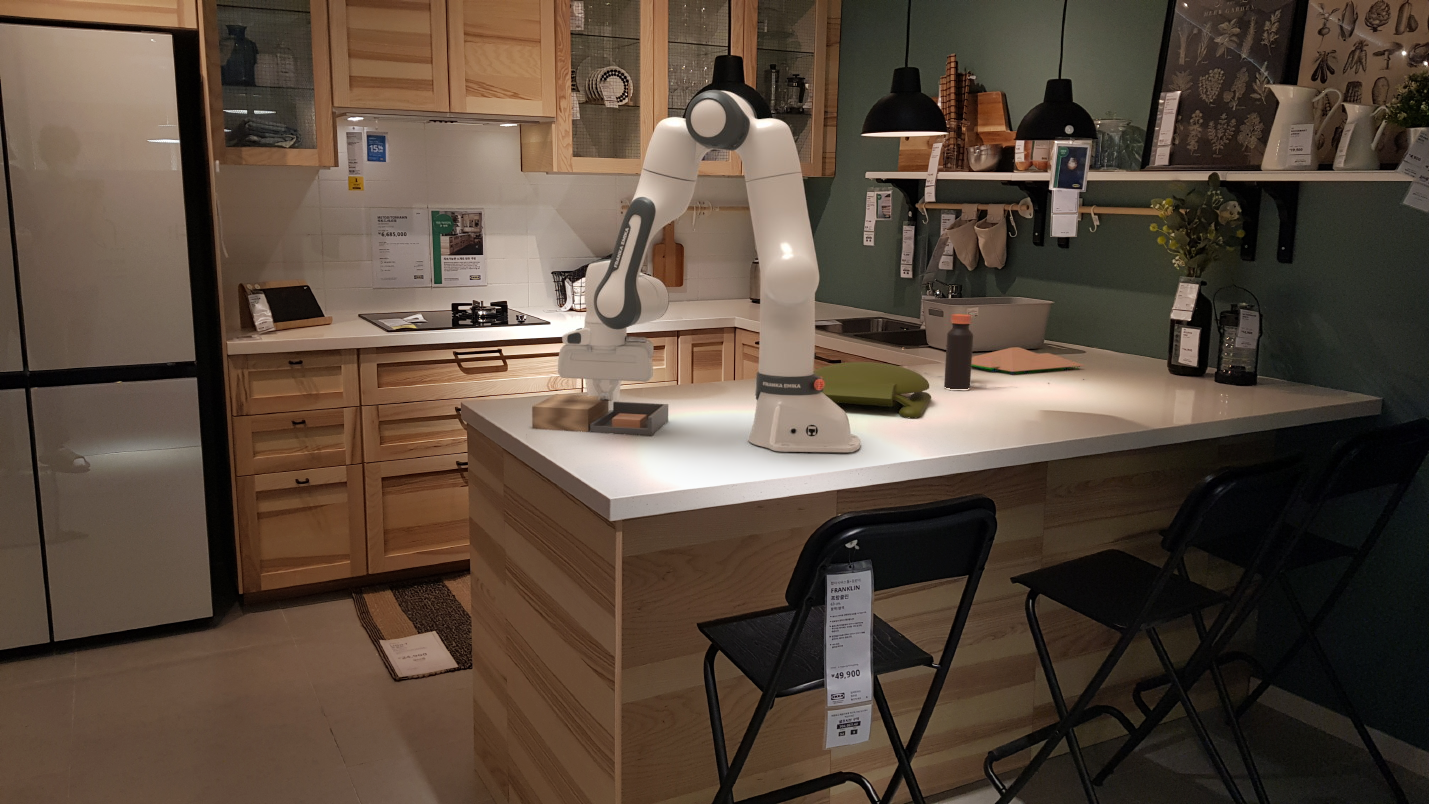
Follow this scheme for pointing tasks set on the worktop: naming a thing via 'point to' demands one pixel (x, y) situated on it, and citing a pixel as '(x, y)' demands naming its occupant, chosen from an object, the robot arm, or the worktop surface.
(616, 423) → the terracotta tile
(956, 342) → the bottle
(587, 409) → the walnut platform
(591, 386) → the foam cup
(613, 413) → the box
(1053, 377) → the worktop surface
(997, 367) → the tan and green mat
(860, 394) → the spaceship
